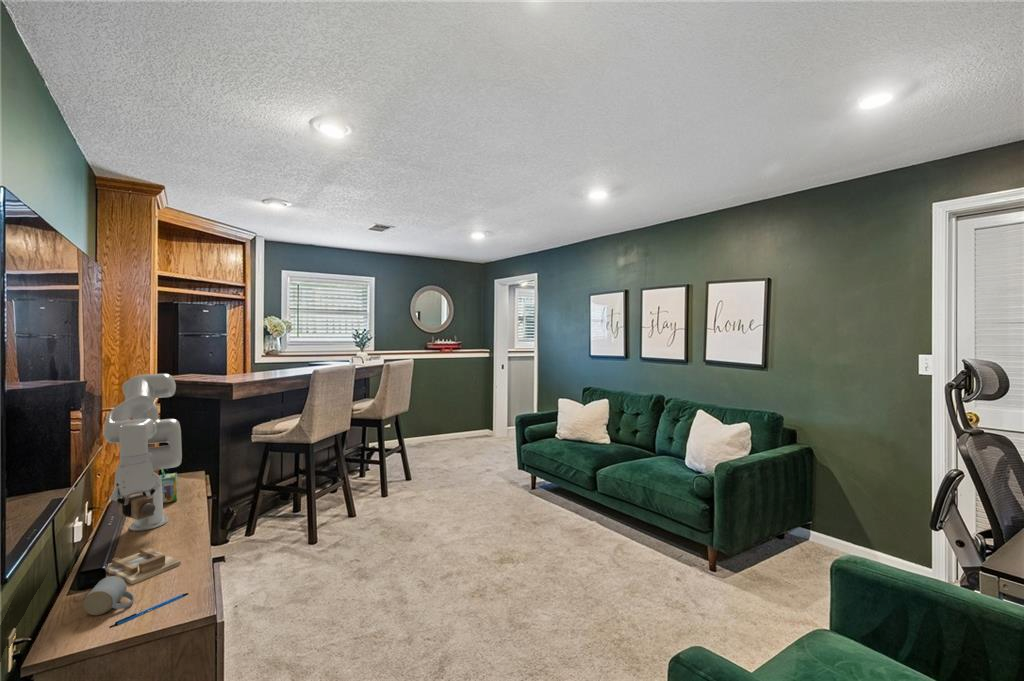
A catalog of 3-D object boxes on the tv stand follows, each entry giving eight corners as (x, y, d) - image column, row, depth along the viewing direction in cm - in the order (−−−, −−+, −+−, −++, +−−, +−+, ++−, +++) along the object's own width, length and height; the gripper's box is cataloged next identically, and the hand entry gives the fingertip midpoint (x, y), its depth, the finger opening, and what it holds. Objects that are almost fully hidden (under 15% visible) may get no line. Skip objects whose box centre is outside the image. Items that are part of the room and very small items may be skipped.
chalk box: (176, 501, 221) (175, 470, 221) (152, 505, 217) (150, 473, 216) (179, 495, 229) (177, 465, 229) (155, 499, 225) (154, 468, 224)
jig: (102, 569, 159) (101, 557, 159) (150, 551, 171) (150, 540, 171) (132, 584, 149) (131, 571, 149) (180, 564, 162) (180, 552, 162)
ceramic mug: (80, 619, 132) (80, 592, 131) (96, 603, 139) (95, 577, 139) (126, 612, 135) (126, 586, 135) (139, 597, 143) (139, 571, 142)
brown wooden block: (118, 514, 163) (118, 497, 162) (133, 510, 167) (133, 492, 166) (141, 520, 156) (141, 502, 156) (157, 515, 161) (156, 498, 160)
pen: (109, 628, 128) (108, 624, 128) (188, 593, 144) (188, 590, 144) (110, 629, 128) (110, 625, 128) (189, 594, 144) (189, 591, 144)
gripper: (156, 452, 171) (158, 503, 171) (98, 464, 156) (100, 520, 156) (168, 454, 167) (170, 506, 167) (109, 467, 152) (111, 524, 153)
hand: (136, 512), depth 162 cm, fingers closed on brown wooden block, 4 cm apart
